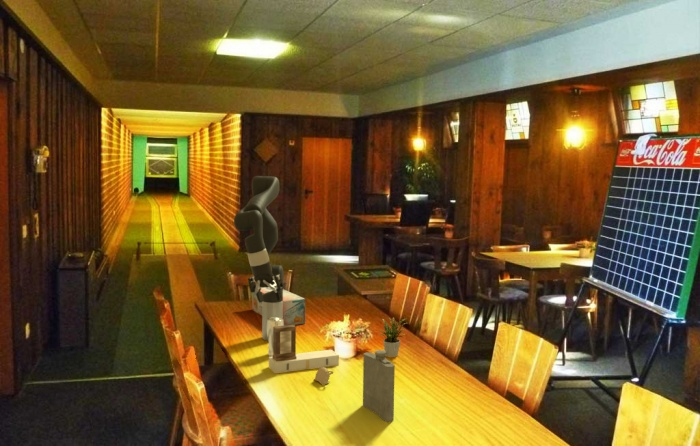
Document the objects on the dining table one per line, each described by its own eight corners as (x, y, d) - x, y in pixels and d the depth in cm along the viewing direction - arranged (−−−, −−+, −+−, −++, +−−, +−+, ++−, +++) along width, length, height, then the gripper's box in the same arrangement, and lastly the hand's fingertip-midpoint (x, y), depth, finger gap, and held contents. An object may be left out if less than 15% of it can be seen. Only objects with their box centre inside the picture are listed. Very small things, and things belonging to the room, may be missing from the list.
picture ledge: (275, 373, 238) (275, 363, 238) (268, 366, 246) (268, 356, 245) (338, 365, 249) (339, 355, 248) (331, 359, 256) (331, 349, 256)
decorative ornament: (323, 378, 234) (323, 364, 234) (334, 385, 227) (334, 370, 227) (313, 380, 232) (313, 365, 232) (324, 387, 225) (324, 372, 224)
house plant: (416, 353, 266) (417, 314, 264) (405, 362, 254) (406, 322, 252) (385, 348, 272) (385, 311, 270) (372, 357, 259) (373, 318, 258)
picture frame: (276, 361, 240) (276, 329, 239) (272, 357, 244) (272, 325, 243) (296, 359, 243) (296, 327, 242) (292, 355, 248) (292, 324, 246)
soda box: (306, 324, 311) (306, 298, 310) (280, 327, 304) (280, 301, 303) (275, 307, 347) (275, 284, 345) (250, 310, 340) (250, 286, 339)
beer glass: (280, 357, 258) (280, 321, 256) (264, 356, 259) (264, 320, 257) (285, 352, 264) (286, 317, 263) (269, 351, 266) (270, 316, 264)
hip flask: (361, 405, 209) (361, 345, 207) (371, 402, 210) (372, 344, 209) (386, 422, 195) (388, 359, 193) (397, 420, 197) (399, 357, 195)
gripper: (280, 257, 240) (290, 296, 244) (250, 259, 247) (261, 298, 251) (269, 264, 234) (280, 304, 238) (239, 266, 241) (250, 305, 244)
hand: (270, 301), depth 244 cm, fingers open, 8 cm apart
